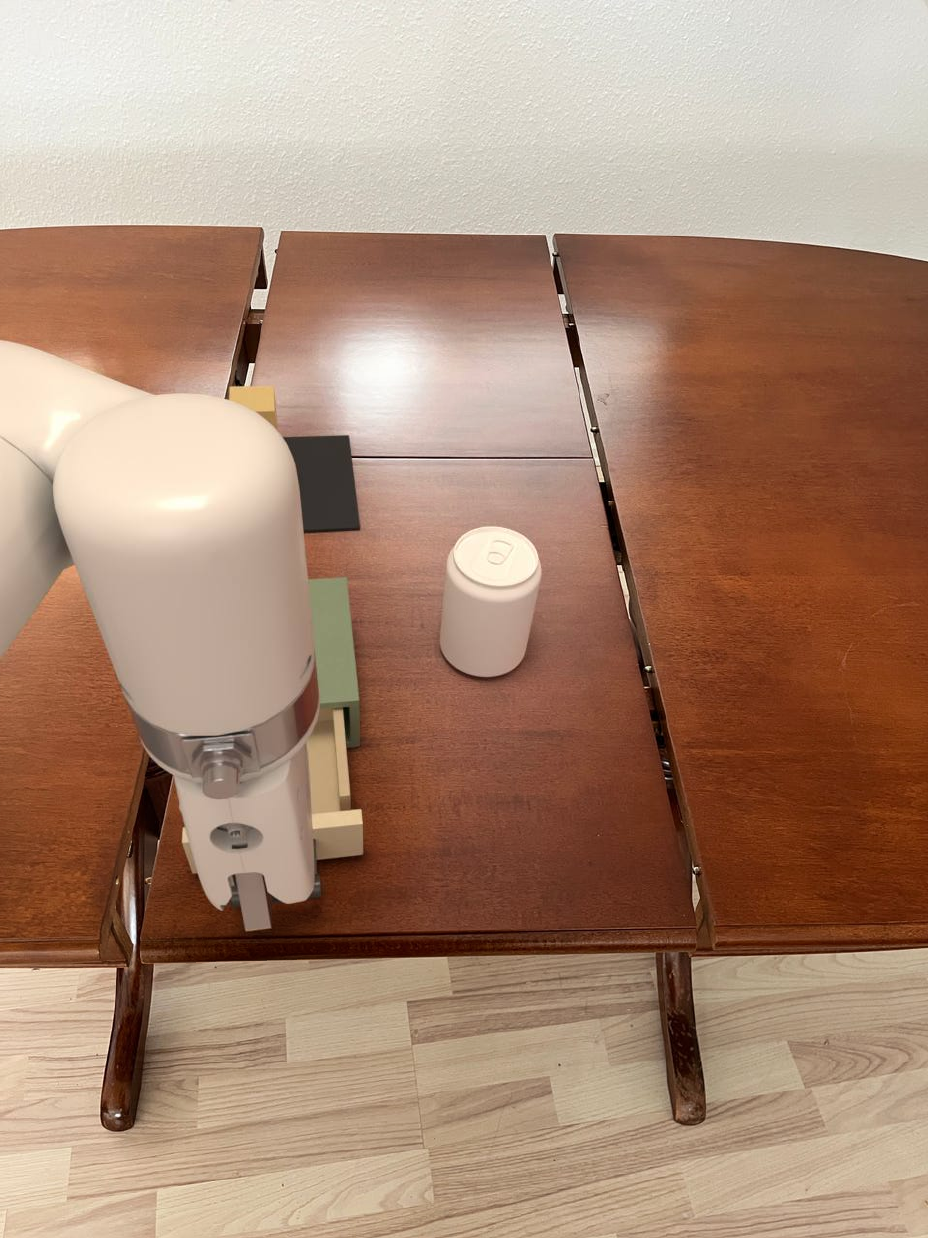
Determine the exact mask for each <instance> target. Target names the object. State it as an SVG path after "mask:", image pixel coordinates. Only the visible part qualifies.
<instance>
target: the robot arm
mask: <svg viewBox="0 0 928 1238" xmlns="http://www.w3.org/2000/svg"><path fill="white" fill-rule="evenodd" d="M283 437H284V436H282V434H281V433H280V432H279V430H278V431H277V430H276V429H275V427H274V426H273V425H272V424H270V423H269V422H268V421H267V420H266V419H264V418H263V417H262V416H261V415H259V414H258V413H257V412H255V411H253V410H251V409H250V408H248V407H246V406H244V405H241V404H238V403H236V402H233V401H230V400H229V399H226V398H222V397H218V396H214V395H209V394H202V393H189V392H186V393H185V392H184V393H183V392H175V393H164V394H154V393H151V392H148V391H145V390H142V389H139V388H136V387H134V386H131V385H128V384H126V383H123V382H121V381H118V380H115V379H113V378H111V377H108V376H105V375H103V374H101V373H98V372H95V371H93V370H92V369H91V370H90V369H88V368H86V367H83V366H81V365H79V364H76V363H73V362H71V361H69V360H66V359H65V358H61V357H59V356H57V355H54V354H51V353H50V352H47V351H44V350H41V349H38V348H36V347H32V346H29V345H26V344H22V343H18V342H14V341H9V340H3V339H0V661H1V660H2V659H3V658H4V657H5V655H6V653H7V652H8V651H9V650H10V648H11V647H12V645H13V644H14V642H15V641H16V639H17V638H18V636H19V635H20V634H21V632H22V631H23V629H24V628H25V626H27V623H28V622H29V621H30V619H31V618H32V616H33V615H34V613H36V611H37V609H38V608H39V606H40V605H41V603H42V602H43V600H44V599H45V597H46V596H47V594H48V593H49V592H50V590H51V589H52V587H53V586H54V585H55V583H56V582H57V580H58V579H59V577H60V576H61V575H62V573H63V572H64V570H67V569H68V568H70V567H73V566H75V569H76V573H77V575H78V577H79V580H80V583H81V586H82V588H83V590H84V593H85V595H86V599H87V601H88V603H89V606H90V608H91V612H92V614H93V616H94V617H93V618H94V620H95V622H96V624H97V627H98V630H99V632H100V634H101V637H102V640H103V643H104V645H105V648H106V651H107V653H108V656H109V659H110V661H111V664H112V667H113V670H114V672H115V675H116V678H117V680H118V683H119V686H120V689H121V691H122V694H123V697H124V699H125V701H126V705H127V707H128V710H129V713H130V715H131V718H132V720H133V723H134V726H135V728H136V729H135V730H136V731H137V733H138V736H139V739H140V742H141V745H142V747H143V748H144V750H145V752H146V753H147V754H148V756H149V757H150V758H151V760H153V761H154V762H155V763H156V764H157V765H158V766H159V767H160V768H162V769H163V770H164V771H166V772H168V773H169V774H171V775H173V779H174V785H175V790H176V794H177V799H178V803H179V804H178V809H179V812H180V813H181V818H182V821H183V825H184V827H185V829H186V833H187V837H188V841H189V845H190V848H191V852H192V856H193V859H194V863H195V866H196V869H197V873H196V874H197V876H198V879H199V881H200V884H201V887H202V889H203V892H204V894H205V896H206V898H207V899H208V901H209V903H211V904H212V905H213V907H215V908H216V909H217V910H219V911H221V912H224V910H225V907H227V906H230V901H231V897H232V888H231V886H235V883H237V889H238V894H239V899H240V905H241V907H240V909H241V916H242V919H243V926H244V931H245V932H253V931H260V930H261V931H262V930H269V929H273V928H272V927H273V903H272V902H276V901H279V900H280V901H282V902H281V903H284V904H286V905H291V904H295V903H301V902H304V901H305V902H306V901H307V900H308V899H307V898H308V897H309V896H310V895H311V893H312V891H313V889H314V848H313V826H312V806H311V788H310V771H309V757H308V747H307V740H308V738H309V737H310V735H311V734H312V732H313V730H314V727H315V725H316V723H317V720H318V714H319V709H320V696H319V688H318V678H317V668H316V657H315V648H314V635H313V625H312V614H311V604H310V594H309V583H308V579H309V573H308V563H307V562H308V561H307V553H306V544H305V543H306V542H305V533H304V531H303V521H302V510H301V500H300V490H299V484H298V477H297V471H296V466H295V462H294V459H293V457H292V454H291V452H290V450H289V448H288V445H287V444H286V442H285V440H284V439H283Z"/></svg>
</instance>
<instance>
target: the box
mask: <svg viewBox="0 0 928 1238" xmlns="http://www.w3.org/2000/svg"><path fill="white" fill-rule="evenodd" d="M228 388H229V390H228V391H229V392H228V394H229V395H228V400H230V401H233V402H236V403H238V404H241V405H244V406H246V407H248V408H250V409H251V410H253V411H255V412H257V413H258V414H259V415H261V416H262V417H263V418H264V419H266V420H267V421H268V422H269V423H270V424H272V425H273V426H274V427H275V429H276V430H277V431H278V432H279V425H278V424H279V423H278V414H277V413H278V412H277V403H276V391H275V386H274V385H248V386H247V385H244V386H243V385H242V386H241V385H239V386H236V385H235V386H229V387H228Z"/></svg>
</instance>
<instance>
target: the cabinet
mask: <svg viewBox="0 0 928 1238" xmlns="http://www.w3.org/2000/svg"><path fill="white" fill-rule="evenodd" d="M308 583H309V594H310V604H311V614H312V625H313V635H314V648H315V657H316V668H317V678H318V688H319V696H320V709H327V708H339V707H343V715H344V727H345V738H346V749H352V748H360V747H361V712H360V709H361V708H360V692H359V682H358V673H357V672H358V671H357V662H356V653H355V651H356V650H355V641H354V633H353V622H352V613H351V603H350V593H349V585H348V583H349V582H348V576H344V577H343V576H342V577H325V578H324V577H321V578H308Z"/></svg>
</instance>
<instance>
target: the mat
mask: <svg viewBox="0 0 928 1238" xmlns="http://www.w3.org/2000/svg"><path fill="white" fill-rule="evenodd" d="M282 437H283V439H284V440H285V442H286V444H287V445H288V448H289V450H290V452H291V454H292V457H293V459H294V462H295V466H296V471H297V477H298V484H299V490H300V500H301V510H302V521H303V531H304V534H307V533H308V534H309V533H325V532H326V533H328V532H348V531H349V532H350V531H360V530H361V523H360V515H359V506H358V498H357V491H356V482H355V475H354V464H353V457H352V449H351V441H350V435H349V434H345V435H340V434H339V435H312V436H311V435H310V436H309V435H308V436H305V435H304V436H282Z"/></svg>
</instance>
